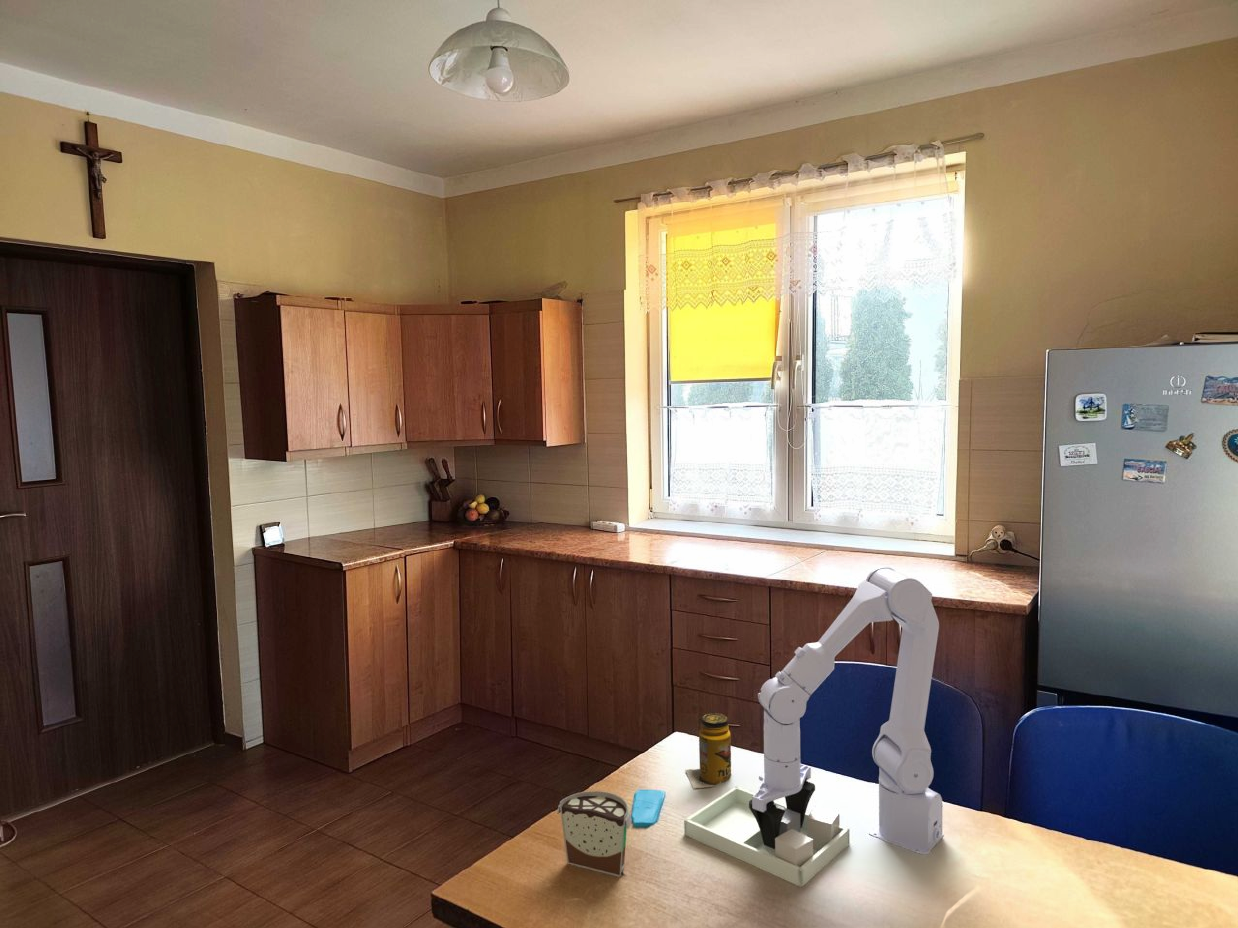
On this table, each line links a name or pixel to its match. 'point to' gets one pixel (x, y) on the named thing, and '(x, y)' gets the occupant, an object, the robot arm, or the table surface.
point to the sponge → (647, 807)
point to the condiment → (712, 752)
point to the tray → (754, 837)
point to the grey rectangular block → (789, 821)
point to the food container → (595, 830)
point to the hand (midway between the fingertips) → (783, 835)
